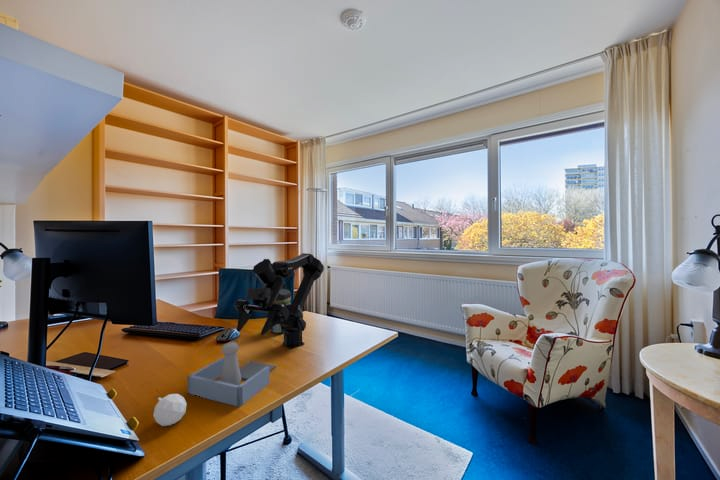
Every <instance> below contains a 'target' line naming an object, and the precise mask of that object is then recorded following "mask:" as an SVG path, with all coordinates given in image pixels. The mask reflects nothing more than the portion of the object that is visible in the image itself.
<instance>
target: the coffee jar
mask: <svg viewBox="0 0 720 480" xmlns="http://www.w3.org/2000/svg"><path fill="white" fill-rule="evenodd" d="M277 297H278V301H275V303H276V304H284V306H285V305H290V304H291V303H292V301H291V299H292V292H291V291H290V289H286V288H281V290H280V292H279V294H278V296H277ZM269 331H270V332H271V333H273V334H285V330H281V326H280V322H279V323H278V324H276V325H275V326H274V327H272V328H271V329H270V330H269Z"/></svg>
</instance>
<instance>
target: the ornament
mask: <svg viewBox="0 0 720 480" xmlns="http://www.w3.org/2000/svg"><path fill="white" fill-rule="evenodd" d="M157 400H158V401H157V403H156V405H155V406H154V411H153V415H152V416H153V419H154V420H155V423H157V424H159V425H160V426H161V427H166V426H173V425H174V424H176V423H177V422H179V421H181V419H182V418H183V417H184V415H185V414H186V413H187V412H186V411H187V404H188V403H187V401H186V399H185V397H184V396H183V395H181V394H180V393H169V394H167V395H165V396H164V397H163V398H162V397H158V398H157ZM172 424H173V425H172Z"/></svg>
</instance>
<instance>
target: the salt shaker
mask: <svg viewBox="0 0 720 480" xmlns="http://www.w3.org/2000/svg"><path fill="white" fill-rule="evenodd" d="M221 349H222V354H224V355H223V356H224V357H223V358H224V362H223V367H222V372H221V376H220V377H219V378H220V379H219V381H221V382H226V383H230V384H235V385H241V384H240V383H241V381H242V379H241V374H240V365H239V359H238V354H237V353H238V351H239V344H238V343H237V342H235V341H234V342H233V341H231V342H227V343H225V344H223V346H222V348H221Z"/></svg>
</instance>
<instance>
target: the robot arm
mask: <svg viewBox="0 0 720 480" xmlns="http://www.w3.org/2000/svg"><path fill="white" fill-rule="evenodd" d="M300 268H301V269H302V273H303V278H302V279H301V282H300V284H299V286H298V288H297V291H296V292H295V295H294V296H293V299H292V301H291V302H290V305H285V306H284V304H276V303H275V301H278V297H277V296H278V294H279V292H280V290H281V289H286V288H287V285H286V282H285V280H284V279H283V278H287V279H288V278H291V277H292V276H293V275H294V274H295V271H297V270H298V269H300ZM324 269H325V267H324V264H323V263H322V261H321V260H320V259H318V258H316V257H315V256H314V255H313V254H311V253H300V254H299V255H298V256H295V257H292V258H290V259H288V260H277V261H273V262H272V261H271V260H270V259H269V258H264V259H263V260H262V261H259V262H257V264H255V265H253V267H252V272H253V274H254V275H255V277H257V278H258V280H259V281H260V282H261V284H264V286H263V287H262V288H253V287H252V288H251V287H248V288H247V291H246V295H245V298H246V299H250V300H251V302H252V303H253V304H251V303H250V301H249V300H246V299H237V300H236V301H235V302H234V304H233V307H234V308H235V310H236V311H237V312H238V320H237V326H236V332H238V333H239V332H241V330H243V328H244V327H245V325H246V324H247V322H248V321H250V318H251V317H252V316H251V315H252V314H253V313H254V312H260V313H267V318H266V321H265V323H264V325H263V327H262V328H261V331H260V335H261V336H265V334H267V333H268V332H269V331H270V329H271V328H272V327H274V326H275V325H276V324H278V323H279V322H280V326H281V330H285V332H284V333H283V341H282V345H283V346H285V347H287V348H288V349H293V348H297V347H301V346H303V345H305V342H304V341H303V332H304V331H305V330H306V327H307V322H306V321H305V320H304V319H303V318H304V313H303V308H304V306H305V303H306V301H307V299H308V296H309V294H310V291H311V289H312V286H313V285H314V282H315V281H317V280H318V279H319V278H320V277H321V276H322V273H323V272H324V271H325V270H324Z"/></svg>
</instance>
